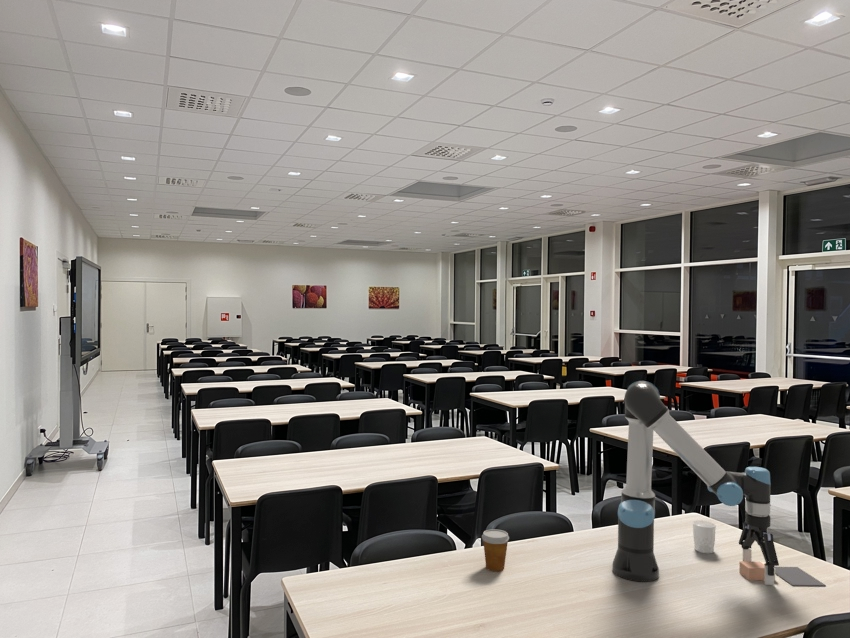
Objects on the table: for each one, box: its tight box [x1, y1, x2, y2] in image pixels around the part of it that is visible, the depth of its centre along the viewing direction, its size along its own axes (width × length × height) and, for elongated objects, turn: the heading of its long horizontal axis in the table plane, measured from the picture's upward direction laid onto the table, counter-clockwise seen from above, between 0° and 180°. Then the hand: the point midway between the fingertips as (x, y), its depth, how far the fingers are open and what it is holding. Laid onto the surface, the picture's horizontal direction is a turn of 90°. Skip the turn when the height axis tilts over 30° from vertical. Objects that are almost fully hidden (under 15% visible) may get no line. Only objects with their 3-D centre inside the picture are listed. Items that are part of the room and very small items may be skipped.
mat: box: [774, 566, 827, 587], centre depth 208 cm, size 11×15×1 cm
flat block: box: [738, 560, 776, 581], centre depth 208 cm, size 9×6×4 cm, turn 90°
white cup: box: [692, 520, 717, 554], centre depth 232 cm, size 8×8×10 cm
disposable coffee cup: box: [481, 529, 510, 572], centre depth 213 cm, size 10×10×12 cm
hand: (757, 576), depth 208 cm, fingers open, 13 cm apart
